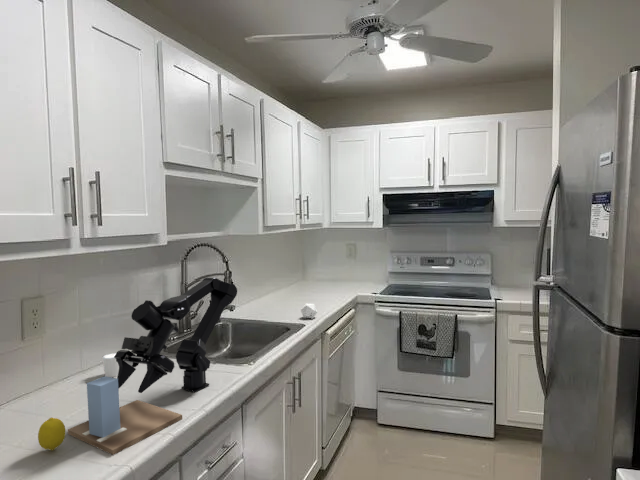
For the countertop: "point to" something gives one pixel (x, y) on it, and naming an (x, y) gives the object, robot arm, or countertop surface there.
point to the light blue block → (103, 406)
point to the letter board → (129, 427)
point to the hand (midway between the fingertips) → (127, 390)
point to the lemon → (51, 434)
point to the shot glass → (110, 365)
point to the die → (309, 311)
